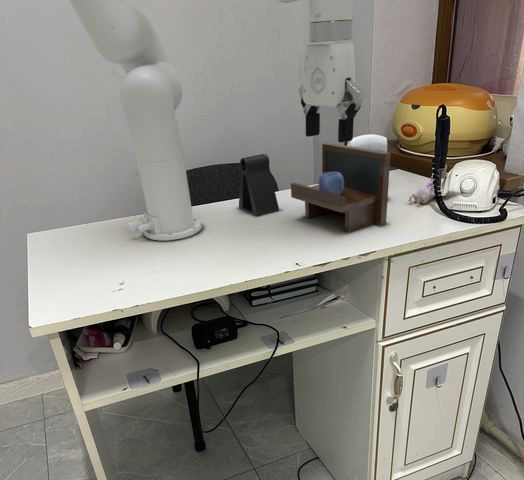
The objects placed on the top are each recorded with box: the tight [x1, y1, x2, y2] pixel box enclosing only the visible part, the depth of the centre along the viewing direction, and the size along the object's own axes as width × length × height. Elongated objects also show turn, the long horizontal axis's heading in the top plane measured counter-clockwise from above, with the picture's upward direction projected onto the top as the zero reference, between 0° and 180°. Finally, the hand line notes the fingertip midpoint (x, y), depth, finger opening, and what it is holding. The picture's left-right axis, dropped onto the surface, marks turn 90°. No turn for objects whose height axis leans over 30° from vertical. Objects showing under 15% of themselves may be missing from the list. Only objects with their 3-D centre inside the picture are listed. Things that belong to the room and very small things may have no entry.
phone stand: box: [238, 153, 280, 217], centre depth 113 cm, size 9×6×12 cm, turn 30°
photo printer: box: [346, 133, 388, 152], centre depth 122 cm, size 10×4×12 cm, turn 98°
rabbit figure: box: [408, 174, 444, 207], centre depth 111 cm, size 6×6×15 cm
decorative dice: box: [318, 172, 344, 195], centre depth 100 cm, size 4×4×4 cm
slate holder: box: [290, 142, 391, 233], centre depth 101 cm, size 11×18×14 cm, turn 34°
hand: (328, 138), depth 95 cm, fingers open, 9 cm apart
